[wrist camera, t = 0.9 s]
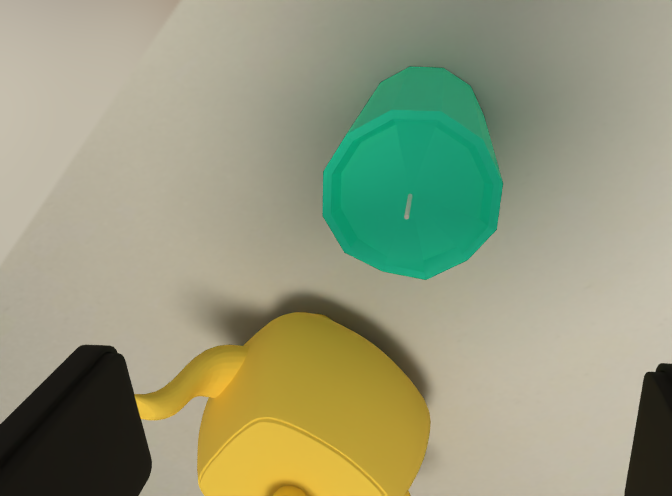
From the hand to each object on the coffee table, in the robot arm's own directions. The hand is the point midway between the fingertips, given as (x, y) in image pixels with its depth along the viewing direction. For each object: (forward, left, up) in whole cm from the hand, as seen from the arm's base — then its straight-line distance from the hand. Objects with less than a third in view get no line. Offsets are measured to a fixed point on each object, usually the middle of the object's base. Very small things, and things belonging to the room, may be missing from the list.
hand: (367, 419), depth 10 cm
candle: (-1, 0, -21) cm, 21 cm away
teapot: (+14, -6, -21) cm, 26 cm away
